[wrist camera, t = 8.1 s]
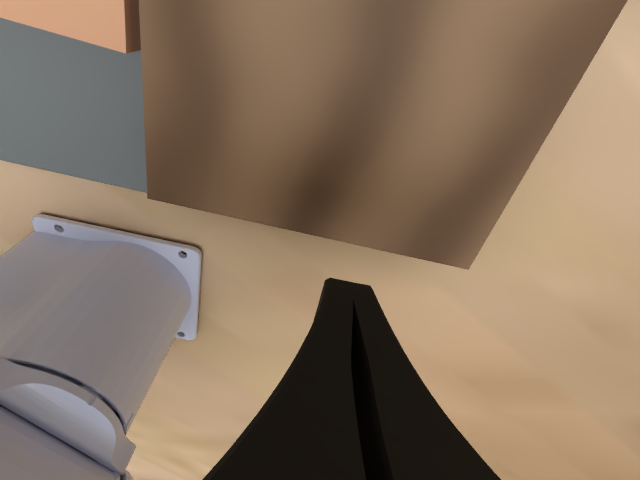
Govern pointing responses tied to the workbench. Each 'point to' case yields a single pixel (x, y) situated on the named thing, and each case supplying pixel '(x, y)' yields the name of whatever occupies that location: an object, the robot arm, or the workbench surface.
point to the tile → (81, 20)
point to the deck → (359, 111)
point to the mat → (71, 107)
